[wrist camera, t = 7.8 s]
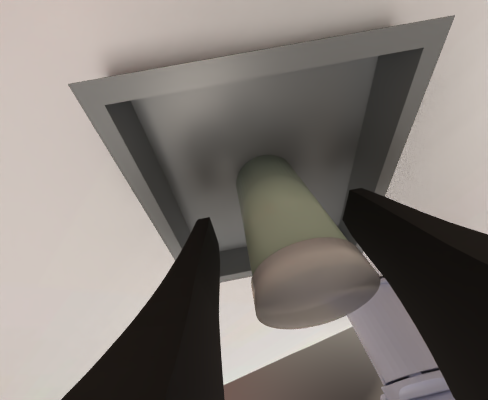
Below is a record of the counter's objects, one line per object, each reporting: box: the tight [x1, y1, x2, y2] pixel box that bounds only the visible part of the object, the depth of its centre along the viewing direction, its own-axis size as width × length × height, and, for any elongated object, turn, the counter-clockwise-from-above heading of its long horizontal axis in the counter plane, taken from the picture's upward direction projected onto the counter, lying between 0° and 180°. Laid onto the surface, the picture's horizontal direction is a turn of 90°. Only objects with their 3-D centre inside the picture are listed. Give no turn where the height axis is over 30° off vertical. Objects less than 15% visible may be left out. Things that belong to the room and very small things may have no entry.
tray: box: [68, 15, 455, 283], centre depth 12 cm, size 14×14×3 cm
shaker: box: [236, 155, 380, 329], centre depth 9 cm, size 4×4×8 cm
